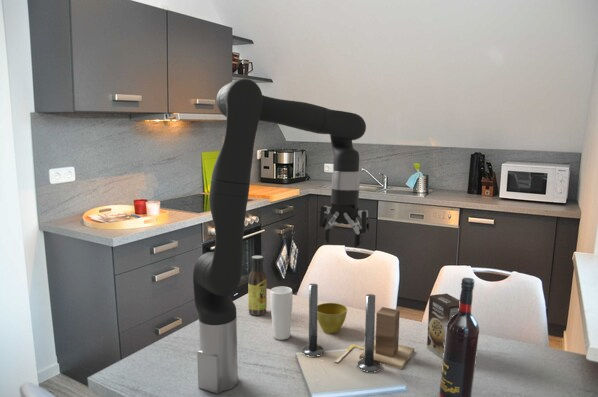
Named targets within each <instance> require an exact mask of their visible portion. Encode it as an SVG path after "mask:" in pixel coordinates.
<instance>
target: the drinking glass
mask: <svg viewBox="0 0 598 397" xmlns="http://www.w3.org/2000/svg"><path fill="white" fill-rule="evenodd" d="M269 294H270V295H269V296H270V297H269V298H270V299H269V301H270V302H269V303H270V304H269V305H270V313H271V314H270V315H271V324H272V326H271V327H272V337H273V338H274V339H275V340H278V341H284V340H287V339H289V338H290V337H291V324H292V313H293V312H292V311H293V298H294V297H293V296H294V295H293V289H292V288H291V287H288V286H283V285H282V286H281V285H280V286H275V287H272V288H271V289H270V293H269Z"/></svg>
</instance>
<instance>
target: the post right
mask: <svg viewBox="0 0 598 397" xmlns="http://www.w3.org/2000/svg"><path fill="white" fill-rule="evenodd" d="M375 318H376V295H375V294H371V293H367V294H366V295H365V323H364V324H365V327H364V329H365V330H364V331H365V332H364V347H365V359H359V360H358V362H357V368H358V367H359V368H360V369H362V370H365V371H368V372H367V373H369V372H373V373H375V372H374V371H377V370H379V369H381V364H380V363H379V362H378V361H376V360H374V339H375V329H376V322H375V321H376V320H375ZM359 368H358V369H359ZM360 369H359V370H360ZM379 371H380V370H379ZM377 372H378V371H377Z"/></svg>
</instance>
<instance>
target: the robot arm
mask: <svg viewBox="0 0 598 397" xmlns="http://www.w3.org/2000/svg"><path fill="white" fill-rule="evenodd" d="M215 102H216V106H217V108H218V110H219V112H220V113H221V115H222V116H224V117H225V118H226V119H225V120H226V123H225V134H224V138H223V142H222V145H221V147H220V150H219V152H218V155H217V157H216V160H215V162H214V164H213V165H214V166H213V168H212V173H211V177H210V179H211V180H210V185H209V187H210V188H209V198H208V199H209V202H208V203H209V209H210V214H211V218H212V222H213V226H214V227H213V228H214V233H215V235H214V236H215V242H214V250H213V251H209V252H204V253H203V254H202V255H201V256H199V257H198V259H197V260H196V262H195V264H194V267H193V271H192V272H193V274H192V281H193V295H194V297H193V298H194V303H195V304H194V305H195V309H196V311H197V314H198V336H199V338H198V340H199V350H198V351H196V353H197V354H196V359H197V361H196V362H197V384H198V385H197V387H198V388H200V389H201V390H205V391H208V392H210V393H214V394H216V395H217V394H219V393H223V392H227V391H229V390H231V389H232V388H234V387H235V386H236V385H237V384H238V382H239V380H238V379H239V376H238V375H239V374H238V372H239V371H238V331H237V330H238V329H237V327H238V325H237V324H238V323H237V321H238V320H237V319H238V318H237V307H236V306H237V305H236V304H235V302H234V301H233V299H232V298H231V295H233V293H235V292H236V291H237V290H238V288H239V285H240V283H241V279H242V274H243V254H244V251H243V250H244V249H243V248H244V247H243V244H244V232H245V223H246V215H247V205H248V201H249V195H250V194H249V192H250V184H251V176H252V175H251V174H252V164H253V159H254V158H253V157H254V147H255V140H256V134H257V131H258V126H259V122H265V123H266V122H267V123H271V124H277V125H280V126H285V127H290V128H294V129H298V130H300V131H305V132H309V133H314V134H321V135H329V137H330V144H331V148H332V152H333V163H332V167H333V168H332V169H333V170H332V178H331V198H330V203H331V206H329V205H323V206H321V207H320V210H319V211H320V213H319V223H318V224H319V227H320V228H323V229H324V230H325V235H324V236H325V238H324V240H325V241H326V243H327V244H332V243H333V237H334V236H333V235H334V234H333V233H334V229H333V227H334V226H335V225H336V224H339V225H340V224H343V225H346V226H347V225H349V226H350V228H352V229H353V231H354V232H355V234H354V248H357V249H358V248H359V247H361V245H362V243H363V234H366V233H368V232H370V210H368V209H366V210H360V209H359V199H360V153H359V151H358V150H356V149H355V148H354V146H353V145H354V144H353V141H356V140H359V139H361V138H362V137H363V136H364V135H365V133H366V131H367V124H366V122H365V120H364V118H363V117H362V116H360V115H359V114H357V113H353V112H351V111H343V110H335V109H330V108H327V107H324V106H322V105H321V106H320V105H317V104H313V103H308V102H305V101H304V102H303V101H297V100H288V99H280V98H275V97H271V96H267V95H263V93H262V90H261V88H260V86H259V85H258V84H257V82H255V81H254V80H252V79H249V78H239V79H237V80H233V81H231V82H228V83H226V84H225V85H224V86H222V87H221V88H220V89H219V91H218V93H217V94H216V101H215ZM329 214H331V216H332V217H331V218H330V219H329V220H328V216H329ZM358 216H359V218H360V219H361V222H360V221H359V220H358ZM360 224H361V225H360Z"/></svg>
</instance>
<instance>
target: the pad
mask: <svg viewBox="0 0 598 397" xmlns="http://www.w3.org/2000/svg"><path fill="white" fill-rule="evenodd" d="M375 350H376V338H374V360H376V361H378V362H379V363H381V364H380V365H382V364H385V365H384V366H386V365H388V366H387V367H390V366H391V368H393V369H398V370H402V369H403V368H404V366H405V365H406V363H407V362H408V361H409V359H410V358H411V356H412V355H413V353H414V352H415V348H414V347H410V346H406V345H402V344H398V351H397V353H396V354H395V355H394V357H393V358H391V357H387V356H383V355H379V354H375ZM359 358H363V359H365V350H363V351H362V352H361V354H359Z"/></svg>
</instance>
